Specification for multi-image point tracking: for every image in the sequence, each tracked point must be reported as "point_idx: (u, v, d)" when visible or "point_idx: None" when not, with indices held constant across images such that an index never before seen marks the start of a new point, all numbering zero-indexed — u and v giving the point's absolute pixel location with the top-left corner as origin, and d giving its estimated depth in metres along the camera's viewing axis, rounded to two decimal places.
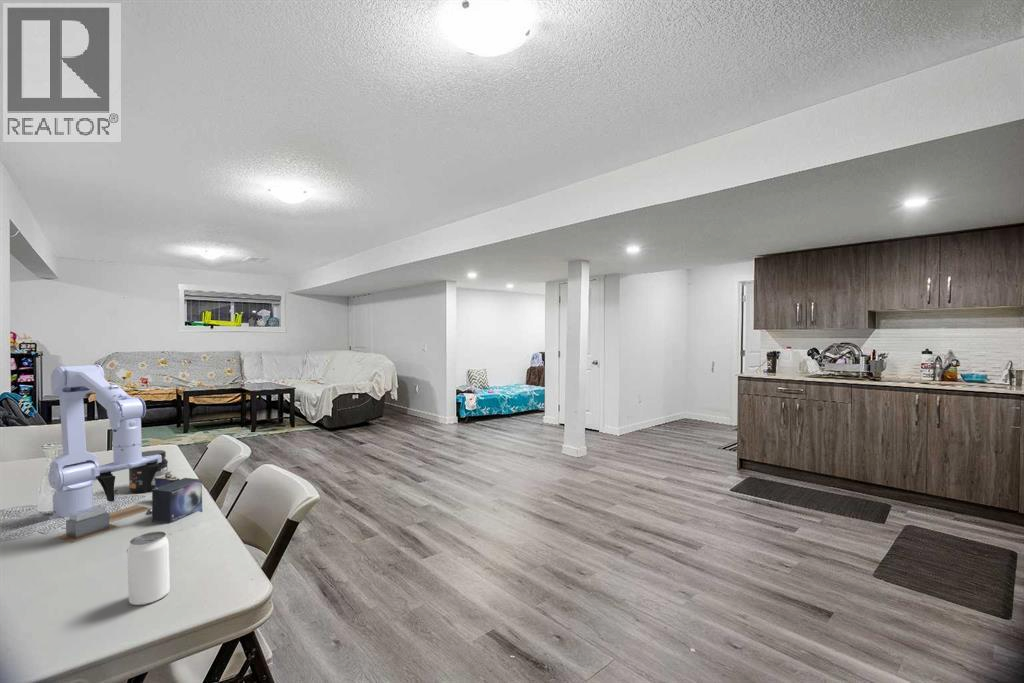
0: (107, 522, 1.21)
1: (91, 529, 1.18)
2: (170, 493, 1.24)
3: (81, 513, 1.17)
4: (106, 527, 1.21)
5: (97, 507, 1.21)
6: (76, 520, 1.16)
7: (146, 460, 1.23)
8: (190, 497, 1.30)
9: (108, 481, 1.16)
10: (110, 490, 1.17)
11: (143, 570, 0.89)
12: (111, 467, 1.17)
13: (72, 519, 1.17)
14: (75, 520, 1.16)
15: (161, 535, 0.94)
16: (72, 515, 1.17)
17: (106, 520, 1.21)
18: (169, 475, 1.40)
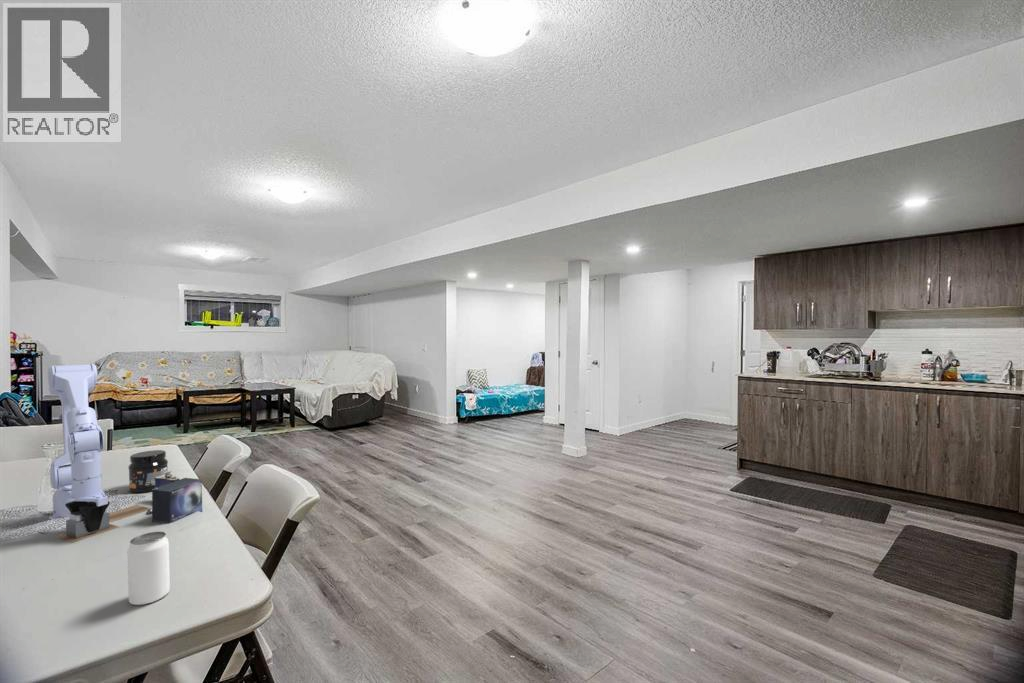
0: (107, 522, 1.21)
1: None
2: (170, 493, 1.24)
3: (81, 513, 1.17)
4: (106, 527, 1.21)
5: None
6: (76, 520, 1.16)
7: (84, 499, 1.16)
8: (190, 497, 1.30)
9: (68, 508, 1.19)
10: None
11: (143, 570, 0.89)
12: (70, 495, 1.19)
13: (72, 519, 1.17)
14: (75, 520, 1.16)
15: (161, 535, 0.94)
16: (72, 515, 1.17)
17: (106, 520, 1.21)
18: (169, 475, 1.40)
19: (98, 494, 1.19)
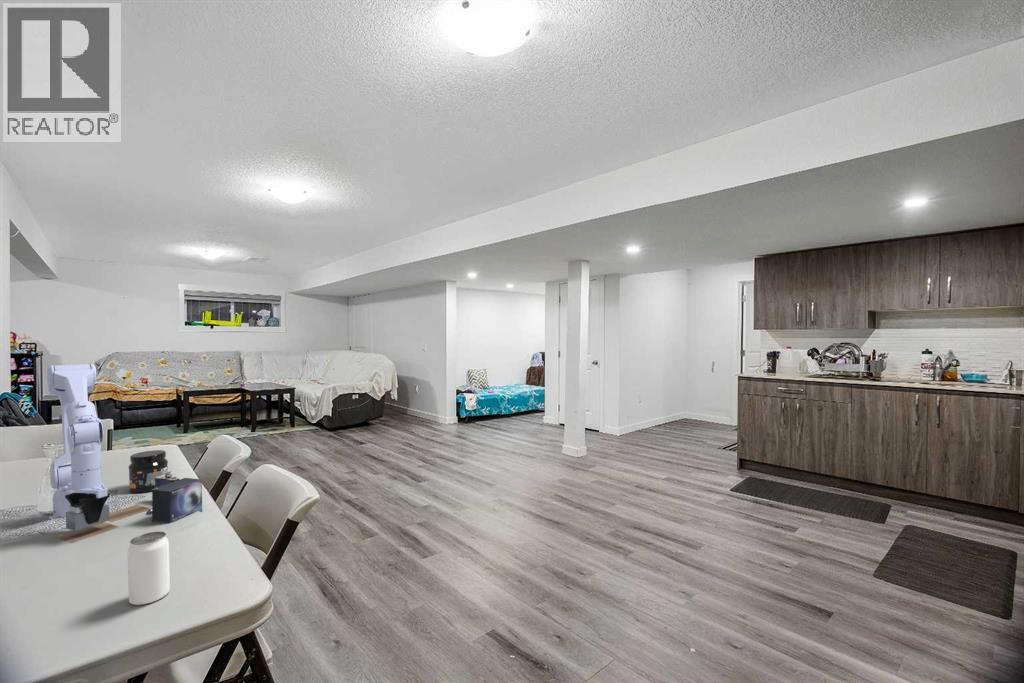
0: (107, 514, 1.21)
1: None
2: (170, 493, 1.24)
3: (81, 505, 1.17)
4: (106, 519, 1.21)
5: None
6: (76, 512, 1.16)
7: (84, 491, 1.16)
8: (190, 497, 1.30)
9: (68, 500, 1.19)
10: None
11: (143, 570, 0.89)
12: (70, 486, 1.19)
13: (72, 511, 1.17)
14: (75, 512, 1.16)
15: (161, 535, 0.94)
16: (72, 507, 1.17)
17: (106, 512, 1.21)
18: (169, 475, 1.40)
19: (98, 486, 1.19)
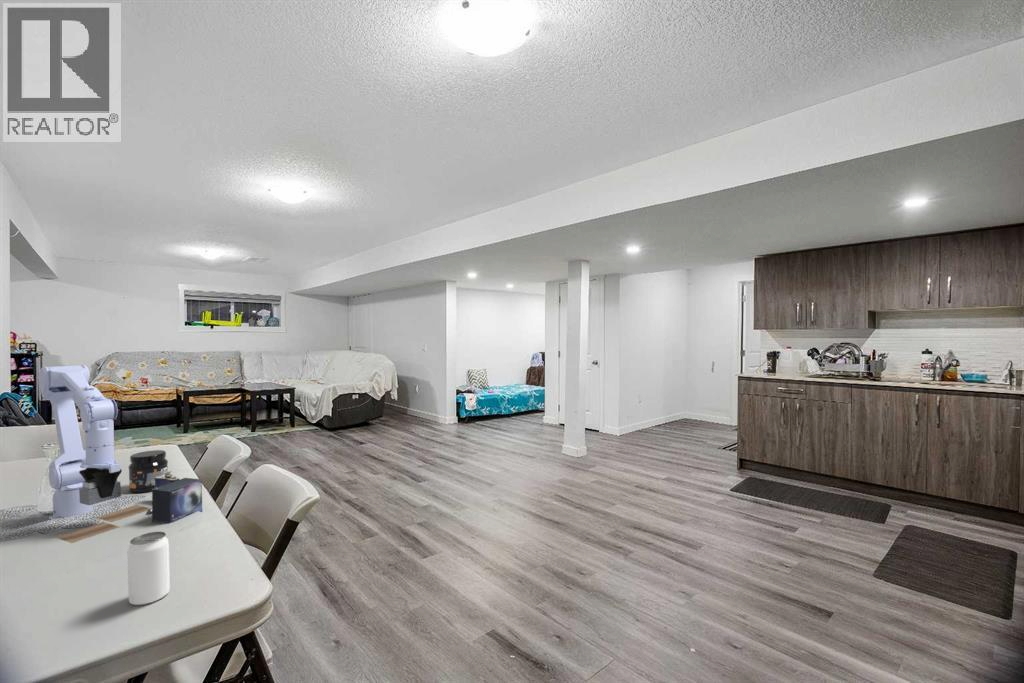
0: (118, 490, 1.25)
1: None
2: (170, 493, 1.24)
3: (94, 481, 1.21)
4: (118, 495, 1.25)
5: None
6: (89, 487, 1.20)
7: (97, 466, 1.20)
8: (190, 497, 1.30)
9: (82, 475, 1.23)
10: None
11: (143, 570, 0.89)
12: (84, 462, 1.24)
13: (85, 487, 1.21)
14: (88, 487, 1.20)
15: (161, 535, 0.94)
16: (85, 483, 1.21)
17: (117, 488, 1.25)
18: (169, 475, 1.40)
19: (111, 462, 1.23)
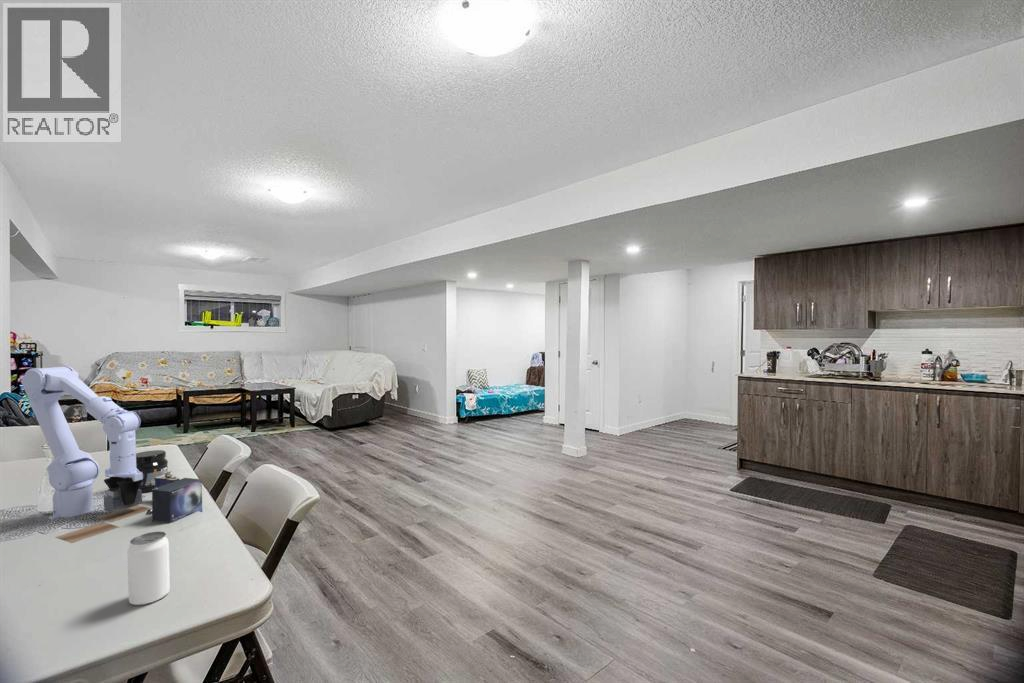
0: (140, 498, 1.33)
1: None
2: (170, 493, 1.24)
3: (117, 490, 1.29)
4: (139, 502, 1.33)
5: None
6: (113, 496, 1.28)
7: (121, 475, 1.28)
8: (190, 497, 1.30)
9: (106, 483, 1.31)
10: None
11: (143, 570, 0.89)
12: (108, 471, 1.32)
13: (109, 495, 1.29)
14: (112, 496, 1.28)
15: (161, 535, 0.94)
16: (109, 491, 1.29)
17: (139, 496, 1.33)
18: (169, 475, 1.40)
19: (133, 471, 1.31)
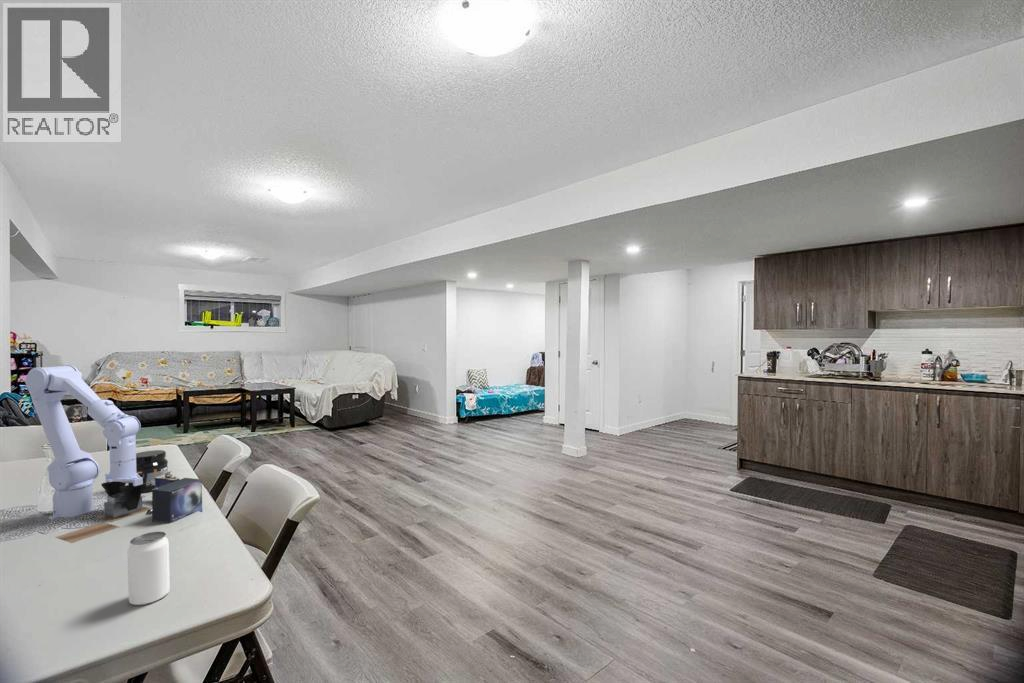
0: (140, 504, 1.33)
1: (126, 510, 1.30)
2: (170, 493, 1.24)
3: (118, 496, 1.30)
4: (139, 509, 1.33)
5: None
6: (113, 502, 1.28)
7: (121, 480, 1.28)
8: (190, 497, 1.30)
9: (104, 488, 1.32)
10: None
11: (143, 570, 0.89)
12: (108, 476, 1.32)
13: (110, 501, 1.29)
14: (113, 502, 1.28)
15: (161, 535, 0.94)
16: (110, 498, 1.29)
17: (139, 503, 1.33)
18: (169, 475, 1.40)
19: (133, 475, 1.31)
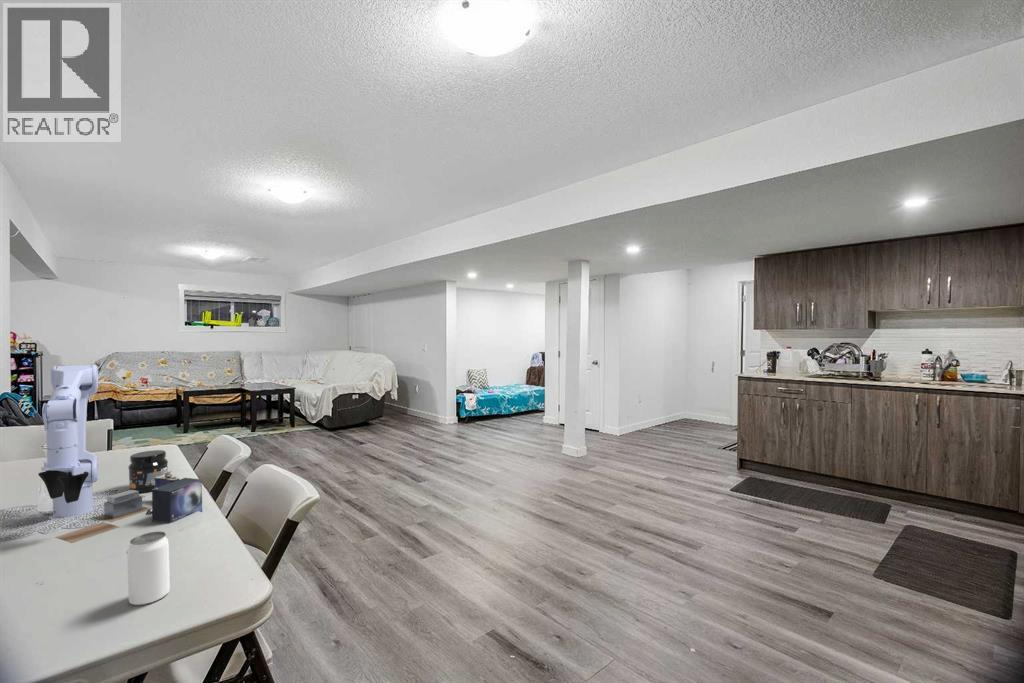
0: (140, 504, 1.33)
1: (126, 510, 1.30)
2: (170, 493, 1.24)
3: (118, 496, 1.30)
4: (139, 509, 1.33)
5: (131, 491, 1.34)
6: (113, 502, 1.28)
7: (59, 468, 1.15)
8: (190, 497, 1.30)
9: (41, 477, 1.18)
10: None
11: (143, 570, 0.89)
12: (46, 465, 1.18)
13: (110, 501, 1.29)
14: (113, 502, 1.28)
15: (161, 535, 0.94)
16: (110, 498, 1.29)
17: (139, 503, 1.33)
18: (169, 475, 1.40)
19: (74, 464, 1.18)
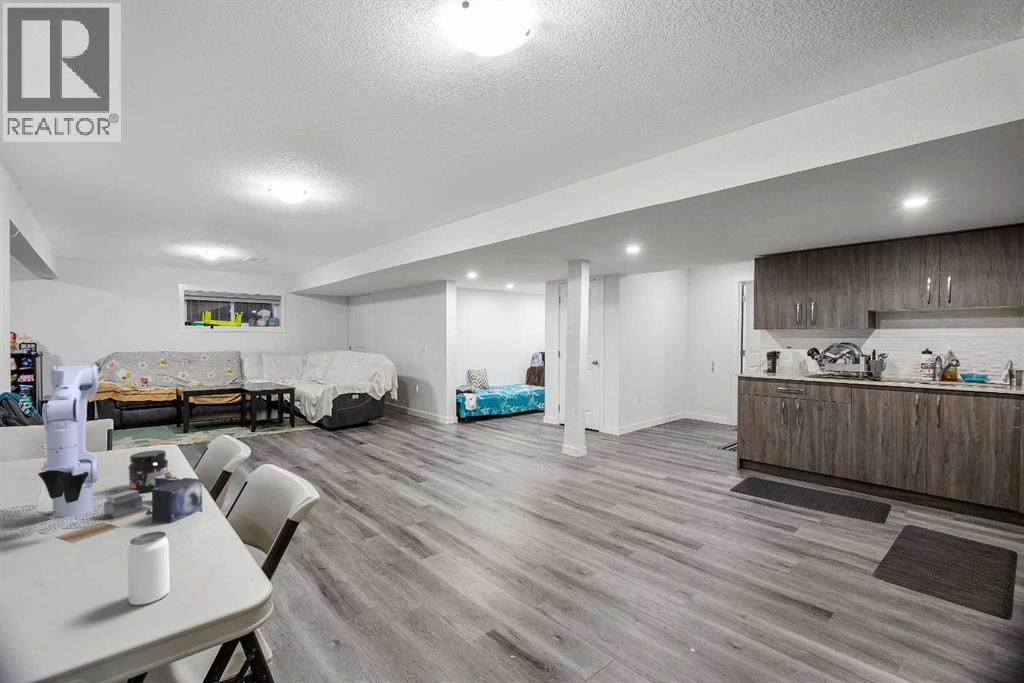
0: (140, 504, 1.33)
1: (126, 510, 1.30)
2: (170, 493, 1.24)
3: (118, 496, 1.30)
4: (139, 509, 1.33)
5: (131, 491, 1.34)
6: (113, 502, 1.28)
7: (59, 468, 1.15)
8: (190, 497, 1.30)
9: (41, 477, 1.18)
10: None
11: (143, 570, 0.89)
12: (46, 465, 1.18)
13: (110, 501, 1.29)
14: (113, 502, 1.28)
15: (161, 535, 0.94)
16: (110, 498, 1.29)
17: (139, 503, 1.33)
18: (169, 475, 1.40)
19: (74, 464, 1.18)
